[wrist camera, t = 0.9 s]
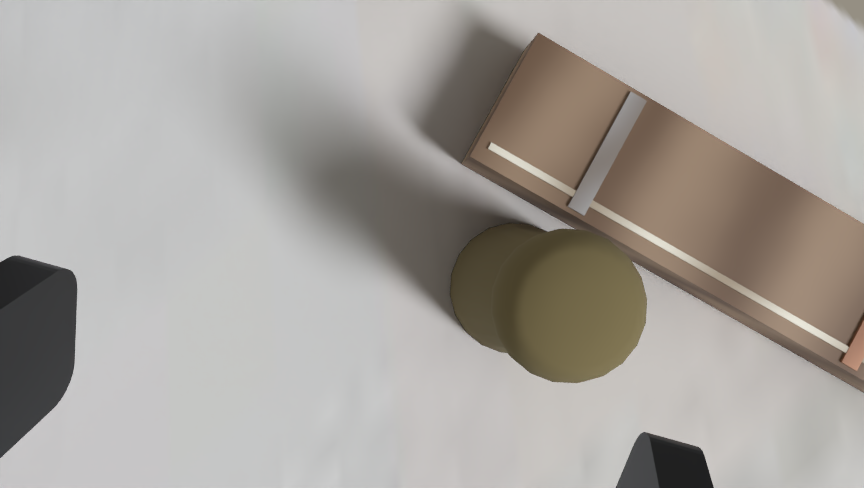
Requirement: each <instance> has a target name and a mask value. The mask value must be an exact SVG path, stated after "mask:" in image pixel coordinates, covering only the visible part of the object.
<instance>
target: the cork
mask: <svg viewBox="0 0 864 488" xmlns="http://www.w3.org/2000/svg"><path fill="white" fill-rule="evenodd" d="M450 296H451V300H452V304H453V308H454V312H455V315H456V317H457V318H458V320H459V321H460V323H461V325H462V326H463V328H464V329H465V331H466V332H467V333H468V334H469V335H470V336H472V337H473V338H474V339H475V340H477V341H478V342H479V343H480V344H481V345H484V346H486V347H489V348H491V349H494V350H496V351H499V352H504V353H508V354H509V355H510V356H511V357H512V358H513V359H514V360H515V361H516V362H518V363H519V364H520V365H521V366H523V367H524V368H525V369H526V370H527V371H529V372H530V373H531V374H534V375H537V376H539V377H542V378H544V379H547V380H550V381H552V382H567V383H579V382H583V381H587V380H590V379H594V378H598V377H601V376H604V375H605V374H607V373H608V372H610V371H611V370H613V369H614V368H616V367H618V366H619V365H621V364H622V363H623V362H624V361H625V359H626V358H627V357H628V356H629V354H630V353H631V352H632V351H633V349H634V348H635V347H636V346H637V344H638V341H639V339H640V336H641V334H642V331H643V328H644V326H645V323H646V308H647V298H646V294H645V290H644V286H643V282H642V278H641V276H640V274H639V273H638V271H637V269H636V268H635V266H634V264H633V263H632V261H631V260H630V258H629V257H628V256H627V255H626V254H625V253H624V252H623V251H622V250H620V249H619V248H618V247H617V246H616V245H615V244H613V243H612V242H611V241H610V240H609V239H607V238H604V237H602V236H599V235H597V234H594V233H592V232H589V231H587V230H575V229H557V230H553V231H550V232H546V231H544V230H541V229H539V228H536V227H534V226H532V225H529V224H515V223H507V224H503V225H499V226H496V227H492V228H489V229H487V230H485V231H484V232H482V233H481V234H479V235H478V236H476V237H475V238H473V239H472V240H471V241H470V242H469V243H468V245H467V246H466V247H465V248H464V249H463V251H462V252H461V253H460V254H459V256H458V259H457V261H456V264H455V266H454V269H453V271H452V274H451V288H450Z"/></svg>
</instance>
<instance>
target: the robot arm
mask: <svg viewBox="0 0 864 488" xmlns="http://www.w3.org/2000/svg"><path fill="white" fill-rule="evenodd" d="M76 306H77V281H76V278H75V275H74V274H73V272H72V271H70V270H68V269H65V268H61V267H58V266H54V265H50V264H47V263H43V262H40V261H36V260H32V259H29V258H25V257H22V256H11V257H9V258H7V259H5V260H3V261H2V262H0V458H1V457H2V456H3V455H4V454H5V453H6V452H7V451H8V450H9V449H11V448H12V447H13V446H14V445H15V444H16V443H17V442H18V441H19V440H20V439H21V438H22V437H23V436H24V435H25V434H27V433H28V432H29V431H30V430H31V429H32V428H33V427H34V426H35V425H36V424H37V423H38V422H39V421H40V420H41V419H43V418H44V417H45V416H46V415H47V414H48V413H49V412H50V411H51V410H52V409H53V408H54V407H55V406H56V405H57V404H58V402H59V401H60V400H61V398H62V397H63V395H64V393H65V391H66V390H67V387H68V385H69V383H70V380H71V377H72V374H73V369H74V361H75V334H76ZM616 488H714V487H713V484H712V481H711V477H710V474H709V470H708V467H707V463H706V460H705V457H704V454H703V451H702V450H701V449H700V448H699V447H696V446H693V445H689V444H686V443H682V442H678V441H675V440H671V439H668V438H664V437H661V436H657V435H653V434H650V433H646V432H643V433H641V434H640V435H639V437H638V438H637V440H636V442H635V444H634V446H633V448H632V450H631V453H630V455H629V458H628V460H627V462H626V465H625V467H624V469H623V472H622V474H621V477H620V479H619V481H618V484H617V486H616Z"/></svg>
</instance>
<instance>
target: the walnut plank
mask: <svg viewBox="0 0 864 488" xmlns="http://www.w3.org/2000/svg"><path fill="white" fill-rule="evenodd" d="M461 164H462V165H464V166H466V167H468V168H469V169H471V170H473V171H475V172H476V173H478V174H480V175H482V176H483V177H485V178H487V179H489V180H490V181H492V182H494V183H496V184H498V185H499V186H501V187H503V188H505V189H506V190H508V191H510V192H512V193H513V194H515V195H517V196H519V197H520V198H522V199H524V200H526V201H527V202H529V203H531V204H533V205H534V206H536V207H538V208H540V209H542V210H543V211H545V212H547V213H549V214H550V215H552V216H554V217H556V218H557V219H559V220H561V221H563V222H564V223H566V224H568V225H570V226H571V227H573V228H575V229H577V230H587V231H589V232H592V233H594V234H597V235H599V236H602V237H604V238H607V239H609V240H610V241H611V242H612V243H613V244H615V245H616V246H617V247H618V248H619V249H620V250H622V251H623V252H624V253H625V254H626V255H627V256H628V257H629V258H630V260H631V261H633V262H635V263H637V264H638V265H640V266H642V267H644V268H645V269H647V270H649V271H651V272H652V273H654V274H656V275H658V276H660V277H661V278H663V279H665V280H667V281H668V282H670V283H672V284H674V285H675V286H677V287H679V288H681V289H682V290H684V291H686V292H688V293H689V294H691V295H693V296H695V297H697V298H698V299H700V300H702V301H704V302H705V303H707V304H709V305H711V306H712V307H714V308H716V309H718V310H719V311H721V312H723V313H725V314H726V315H728V316H730V317H732V318H733V319H735V320H737V321H739V322H741V323H742V324H744V325H746V326H748V327H749V328H751V329H753V330H755V331H756V332H758V333H760V334H762V335H763V336H765V337H767V338H769V339H770V340H772V341H774V342H776V343H778V344H779V345H781V346H783V347H785V348H786V349H788V350H790V351H792V352H793V353H795V354H797V355H799V356H800V357H802V358H804V359H806V360H807V361H809V362H811V363H813V364H815V365H816V366H818V367H820V368H822V369H823V370H825V371H827V372H829V373H830V374H832V375H834V376H836V377H837V378H839V379H841V380H843V381H844V382H846V383H848V384H850V385H851V386H853V387H855V388H857V389H859V390H860V391H862V392H864V224H863V223H861V222H859V221H858V220H856V219H854V218H853V217H851V216H849V215H848V214H846V213H844V212H842V211H841V210H839V209H837V208H836V207H834V206H832V205H831V204H829V203H827V202H825V201H824V200H822V199H820V198H819V197H817V196H815V195H814V194H812V193H810V192H808V191H807V190H805V189H803V188H802V187H800V186H798V185H797V184H795V183H793V182H791V181H790V180H788V179H786V178H785V177H783V176H781V175H780V174H778V173H776V172H774V171H773V170H771V169H769V168H768V167H766V166H764V165H763V164H761V163H759V162H757V161H756V160H754V159H752V158H751V157H749V156H747V155H745V154H744V153H742V152H740V151H739V150H737V149H735V148H734V147H732V146H730V145H728V144H727V143H725V142H723V141H722V140H720V139H718V138H717V137H715V136H713V135H711V134H710V133H708V132H706V131H705V130H703V129H701V128H700V127H698V126H696V125H694V124H693V123H691V122H689V121H688V120H686V119H684V118H683V117H681V116H679V115H677V114H676V113H674V112H672V111H671V110H669V109H667V108H666V107H664V106H662V105H660V104H659V103H657V102H655V101H654V100H652V99H650V98H649V97H647V96H645V95H643V94H642V93H640V92H638V91H637V90H635V89H633V88H632V87H630V86H628V85H626V84H625V83H623V82H621V81H620V80H618V79H616V78H614V77H613V76H611V75H609V74H608V73H606V72H604V71H603V70H601V69H599V68H597V67H596V66H594V65H592V64H591V63H589V62H587V61H586V60H584V59H582V58H580V57H579V56H577V55H575V54H574V53H572V52H570V51H569V50H567V49H565V48H563V47H562V46H560V45H558V44H557V43H555V42H553V41H552V40H550V39H548V38H546V37H545V36H543V35H541V34H540V33H538V34H537V35H536V36H535V38H534V39H533V40H532V41H531V43H530V44H529V45H528V46H527V48H526V49H525V50H524V51H523V53H522V55H521V57H520V59H519V60H518V62H517V64H516V66H515V68H514V69H513V71H512V73H511V75H510V77H509V79H508V80H507V82H506V84H505V86H504V88H503V89H502V91H501V93H500V95H499V97H498V98H497V100H496V102H495V104H494V106H493V107H492V109H491V111H490V113H489V115H488V116H487V118H486V120H485V122H484V124H483V125H482V127H481V129H480V131H479V133H478V134H477V136H476V138H475V140H474V142H473V143H472V145H471V147H470V149H469V151H468V153H467V154H466V156H465V158H464V160H463V162H462V163H461Z"/></svg>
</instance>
